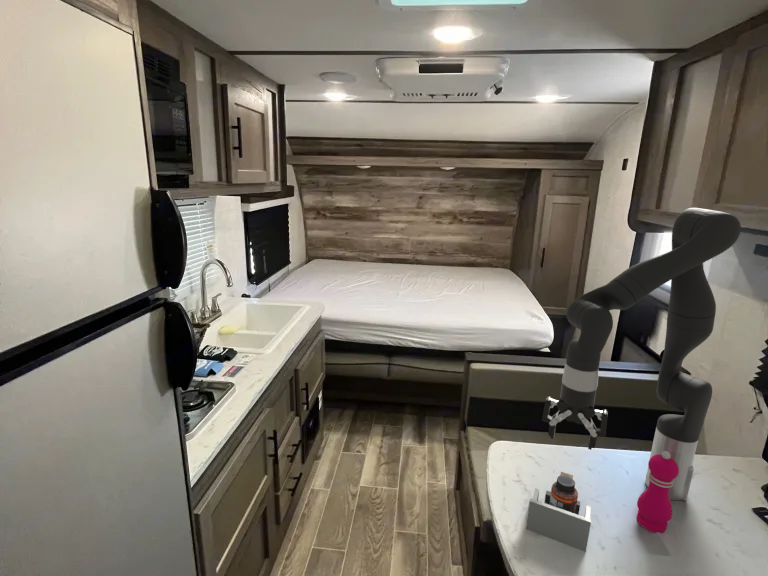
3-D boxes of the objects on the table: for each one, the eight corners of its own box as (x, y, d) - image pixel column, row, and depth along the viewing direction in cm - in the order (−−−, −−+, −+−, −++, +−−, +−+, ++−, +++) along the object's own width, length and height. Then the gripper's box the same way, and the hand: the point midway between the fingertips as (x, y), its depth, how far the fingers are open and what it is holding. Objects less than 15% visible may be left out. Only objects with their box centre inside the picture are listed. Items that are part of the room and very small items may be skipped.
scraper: (580, 498, 112) (583, 478, 110) (578, 517, 106) (581, 497, 104) (548, 487, 116) (550, 468, 114) (544, 505, 109) (546, 485, 108)
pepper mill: (639, 507, 109) (653, 438, 104) (672, 523, 104) (688, 452, 99) (630, 522, 104) (644, 451, 99) (664, 540, 99) (681, 466, 94)
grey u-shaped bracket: (588, 518, 105) (593, 491, 103) (585, 551, 96) (590, 522, 94) (533, 499, 111) (537, 473, 109) (525, 529, 102) (529, 500, 100)
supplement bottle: (569, 512, 107) (575, 473, 104) (576, 530, 101) (583, 490, 99) (544, 509, 108) (550, 470, 105) (550, 527, 102) (556, 487, 99)
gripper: (613, 383, 101) (603, 443, 105) (549, 370, 108) (542, 426, 112) (613, 397, 95) (602, 460, 99) (545, 382, 101) (538, 441, 105)
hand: (570, 442), depth 105 cm, fingers open, 8 cm apart
